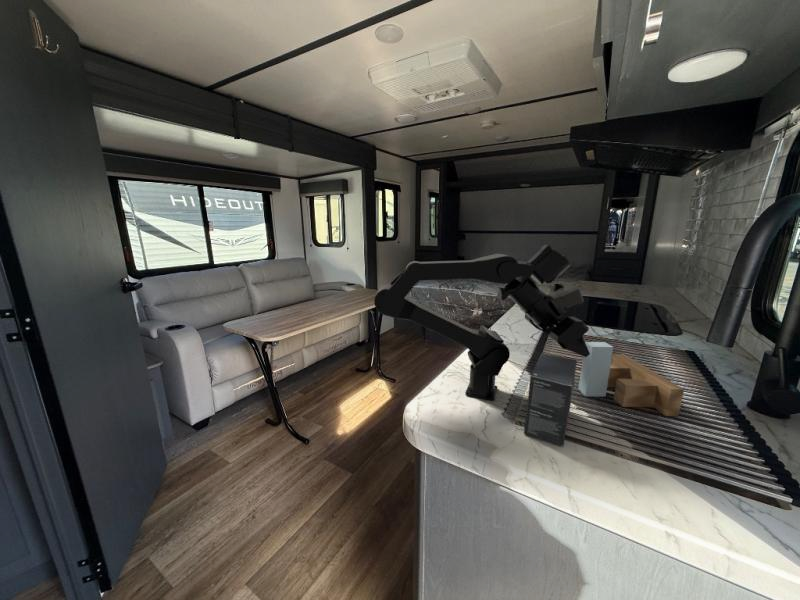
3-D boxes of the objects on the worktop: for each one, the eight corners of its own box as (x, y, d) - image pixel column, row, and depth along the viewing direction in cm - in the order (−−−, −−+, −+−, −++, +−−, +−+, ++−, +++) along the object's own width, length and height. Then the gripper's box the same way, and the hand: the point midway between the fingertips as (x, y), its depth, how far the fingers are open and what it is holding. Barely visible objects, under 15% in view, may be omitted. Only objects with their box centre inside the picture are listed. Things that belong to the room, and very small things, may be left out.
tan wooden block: (633, 415, 64) (638, 388, 62) (584, 375, 81) (587, 353, 80) (678, 416, 63) (684, 389, 62) (619, 375, 81) (623, 354, 80)
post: (585, 396, 71) (592, 346, 68) (578, 389, 74) (584, 342, 71) (605, 396, 71) (613, 346, 68) (597, 389, 74) (604, 342, 71)
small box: (564, 449, 54) (572, 386, 51) (523, 435, 58) (528, 376, 55) (570, 412, 65) (577, 358, 62) (535, 402, 68) (540, 351, 66)
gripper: (584, 280, 57) (635, 337, 59) (541, 268, 76) (582, 312, 78) (537, 321, 59) (588, 375, 61) (506, 299, 77) (547, 341, 80)
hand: (576, 347), depth 70 cm, fingers open, 9 cm apart
